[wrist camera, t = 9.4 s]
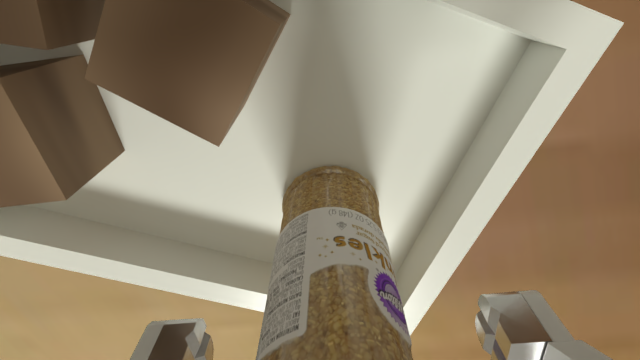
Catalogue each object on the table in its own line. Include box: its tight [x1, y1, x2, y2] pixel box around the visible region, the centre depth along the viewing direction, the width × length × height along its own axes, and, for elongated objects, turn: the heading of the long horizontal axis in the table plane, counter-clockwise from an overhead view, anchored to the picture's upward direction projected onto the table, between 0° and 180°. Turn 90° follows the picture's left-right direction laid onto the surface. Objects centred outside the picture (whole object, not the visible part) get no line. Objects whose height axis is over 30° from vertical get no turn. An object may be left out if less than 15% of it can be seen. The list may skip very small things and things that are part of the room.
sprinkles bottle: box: [256, 166, 413, 360], centre depth 11 cm, size 5×5×14 cm
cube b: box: [84, 0, 291, 147], centre depth 11 cm, size 4×4×4 cm
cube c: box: [0, 54, 125, 208], centre depth 12 cm, size 4×4×4 cm
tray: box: [0, 0, 624, 335], centre depth 14 cm, size 22×16×3 cm
